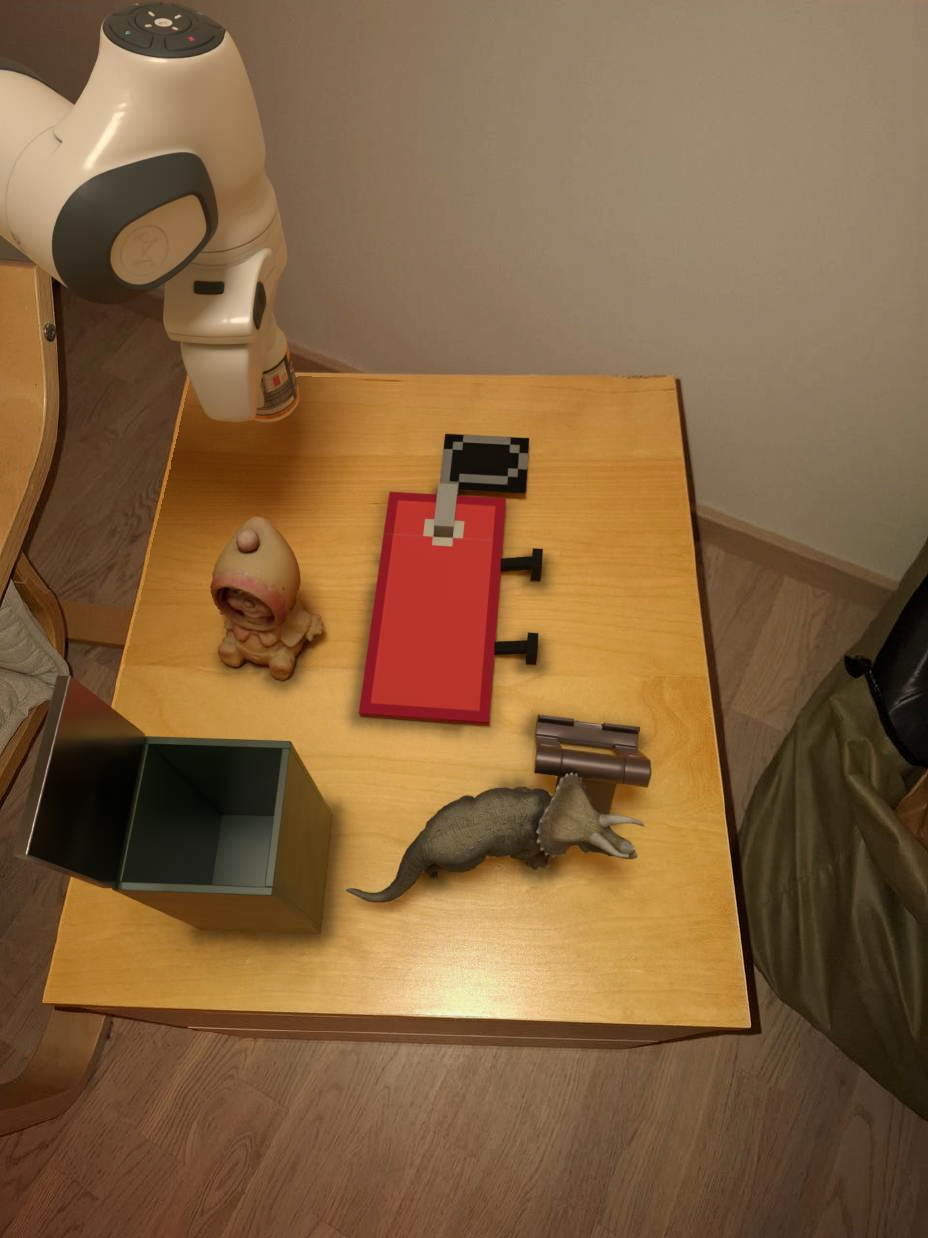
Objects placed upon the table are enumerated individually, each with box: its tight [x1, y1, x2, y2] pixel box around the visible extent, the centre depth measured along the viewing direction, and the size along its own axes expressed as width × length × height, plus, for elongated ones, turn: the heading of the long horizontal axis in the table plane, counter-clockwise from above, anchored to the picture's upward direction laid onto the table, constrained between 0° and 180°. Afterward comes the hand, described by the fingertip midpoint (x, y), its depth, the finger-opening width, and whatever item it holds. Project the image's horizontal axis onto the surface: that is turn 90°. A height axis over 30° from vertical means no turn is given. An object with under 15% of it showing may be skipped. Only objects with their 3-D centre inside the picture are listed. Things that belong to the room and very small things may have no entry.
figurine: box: [209, 515, 325, 682], centre depth 76 cm, size 10×8×15 cm
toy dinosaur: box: [345, 773, 646, 904], centre depth 68 cm, size 22×8×11 cm, turn 96°
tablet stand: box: [533, 714, 653, 815], centre depth 72 cm, size 9×8×8 cm
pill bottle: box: [253, 311, 301, 423], centre depth 79 cm, size 6×6×10 cm
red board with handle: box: [358, 433, 544, 726], centre depth 83 cm, size 30×3×15 cm
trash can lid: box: [12, 674, 146, 890], centre depth 50 cm, size 10×10×1 cm
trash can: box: [111, 735, 333, 935], centre depth 64 cm, size 10×10×20 cm
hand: (260, 369), depth 79 cm, fingers closed on pill bottle, 6 cm apart
